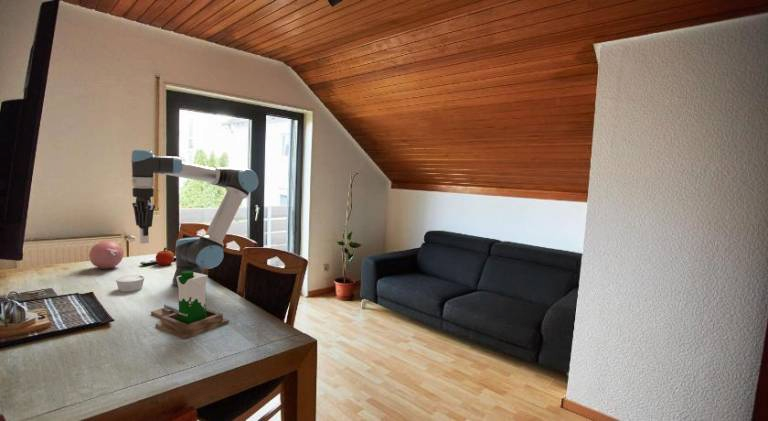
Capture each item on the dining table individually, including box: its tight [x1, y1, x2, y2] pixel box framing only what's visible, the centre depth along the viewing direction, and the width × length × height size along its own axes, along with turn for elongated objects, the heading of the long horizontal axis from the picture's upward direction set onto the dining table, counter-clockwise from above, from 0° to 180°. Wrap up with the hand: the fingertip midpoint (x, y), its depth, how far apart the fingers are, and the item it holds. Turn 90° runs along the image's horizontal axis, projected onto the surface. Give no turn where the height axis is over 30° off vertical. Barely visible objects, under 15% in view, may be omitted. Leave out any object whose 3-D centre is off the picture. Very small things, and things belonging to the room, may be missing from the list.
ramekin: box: [115, 274, 145, 293], centre depth 183 cm, size 11×11×5 cm
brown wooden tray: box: [150, 302, 230, 340], centre depth 150 cm, size 18×31×4 cm, turn 60°
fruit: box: [155, 247, 175, 266], centre depth 227 cm, size 10×10×10 cm
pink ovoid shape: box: [88, 240, 124, 270], centre depth 212 cm, size 15×20×15 cm
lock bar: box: [163, 301, 179, 317], centre depth 152 cm, size 4×10×4 cm, turn 60°
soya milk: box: [176, 270, 209, 324], centre depth 145 cm, size 9×9×20 cm
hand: (144, 242), depth 163 cm, fingers closed
